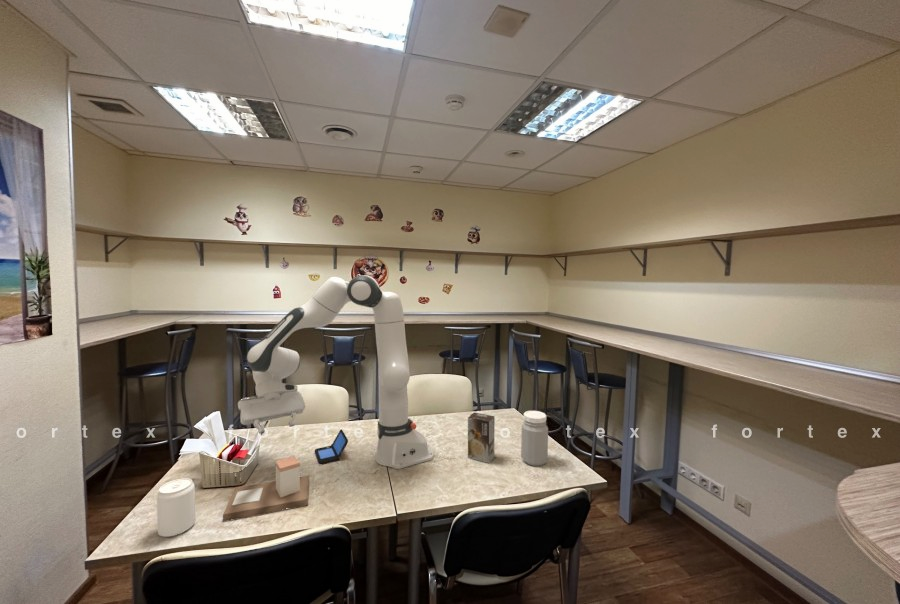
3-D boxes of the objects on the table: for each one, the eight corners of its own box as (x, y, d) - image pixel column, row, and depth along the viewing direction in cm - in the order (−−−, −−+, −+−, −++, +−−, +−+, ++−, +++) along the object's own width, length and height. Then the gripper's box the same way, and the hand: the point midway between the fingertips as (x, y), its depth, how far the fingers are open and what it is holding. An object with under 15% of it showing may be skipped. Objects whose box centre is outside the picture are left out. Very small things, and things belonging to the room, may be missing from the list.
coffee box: (495, 456, 137) (495, 416, 136) (489, 463, 131) (489, 421, 131) (473, 451, 141) (474, 411, 141) (466, 458, 136) (467, 417, 135)
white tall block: (294, 482, 114) (294, 455, 114) (299, 490, 110) (299, 462, 110) (276, 489, 111) (275, 461, 111) (280, 497, 107) (280, 468, 106)
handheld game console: (314, 451, 141) (313, 433, 140) (341, 446, 146) (341, 428, 145) (319, 466, 130) (318, 446, 129) (348, 459, 135) (348, 440, 134)
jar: (548, 468, 128) (549, 420, 127) (521, 465, 130) (521, 417, 129) (546, 455, 138) (547, 410, 137) (521, 453, 140) (521, 408, 139)
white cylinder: (151, 541, 91) (149, 496, 90) (167, 521, 99) (165, 479, 98) (187, 535, 93) (186, 491, 92) (200, 516, 101) (199, 475, 100)
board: (309, 480, 119) (309, 455, 119) (307, 505, 106) (307, 476, 106) (234, 493, 112) (234, 465, 111) (223, 521, 99) (222, 490, 98)
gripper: (237, 394, 118) (243, 432, 111) (301, 384, 131) (309, 418, 124) (236, 403, 122) (241, 441, 115) (298, 393, 135) (306, 426, 128)
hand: (277, 429), depth 119 cm, fingers open, 8 cm apart
